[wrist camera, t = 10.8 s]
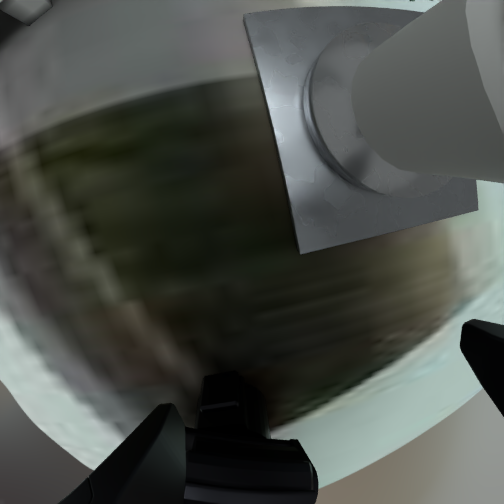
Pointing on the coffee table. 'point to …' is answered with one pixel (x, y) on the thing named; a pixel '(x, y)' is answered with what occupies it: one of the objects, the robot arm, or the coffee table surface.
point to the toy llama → (25, 9)
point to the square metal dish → (338, 128)
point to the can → (438, 93)
